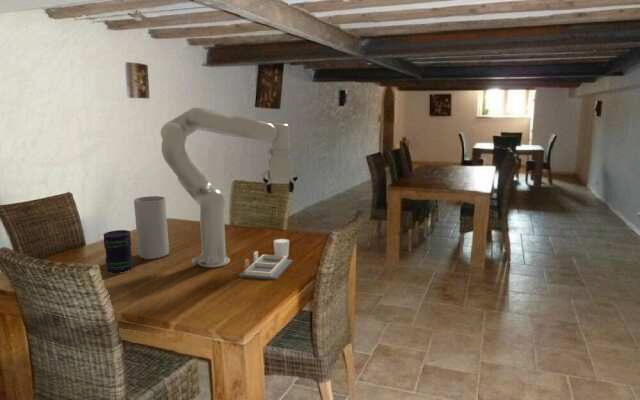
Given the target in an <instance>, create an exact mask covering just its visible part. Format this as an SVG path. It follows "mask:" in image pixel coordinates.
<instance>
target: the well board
mask: <svg viewBox="0 0 640 400" xmlns="http://www.w3.org/2000/svg"><path fill="white" fill-rule="evenodd" d="M243 262H244V265H243V266H244V269H243V270H242V271H241V272H240V273H238V277H242V278H249V279H250V278H251V279H263V280H264V279H265V280H275V281H276V280H278V279H279V278H280V276H281V275H282V274H283V273H284V272H285V271H286V269H288V268H289V267H290V265H291V264H292V263H293V259H289V258H288V257H287V256H278V255H275V254H261V255H260V256H259V251H258V250H257V251H256V250H255V251H254V252H253V261H252V262H251V263H250V258H246V259H245V260H243Z"/></svg>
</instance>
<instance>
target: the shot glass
mask: <svg viewBox="0 0 640 400" xmlns="http://www.w3.org/2000/svg"><path fill="white" fill-rule="evenodd" d="M273 250H274V251H273V252H274V255H278V256H287V258H289V250H290V240H289V239H287V238H277V239H274V240H273Z"/></svg>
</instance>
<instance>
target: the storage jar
mask: <svg viewBox="0 0 640 400" xmlns="http://www.w3.org/2000/svg"><path fill="white" fill-rule="evenodd" d="M102 237H103V245H104V246H103V247H104V250H105V256H106V257H105V265H106V272H107V271H108V272H111V273H120V272H125V271H128V270H131V269H132V268H133V269H134V266H133V265H134V258H133V254H132V247H131V246H132V238H131V230H130V231H129V230H126V229H119V230H118V229H117V230H111V231H107V232H105V233H103V236H102ZM133 269H132V270H133ZM132 270H131V271H132ZM108 272H107V273H108ZM111 273H110V274H111ZM120 274H121V273H120Z"/></svg>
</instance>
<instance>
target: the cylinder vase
mask: <svg viewBox="0 0 640 400" xmlns="http://www.w3.org/2000/svg"><path fill="white" fill-rule="evenodd" d="M133 204H134V205H133V207H134V216H135V218H134V219H135V227H136V230H135V231H136V238H137V239H136V240H137V241H136V242H137V250H138V256H139V258H140V257H141V259H143V258H144V259H143V260H157V259H156V258H158V259H162V258H165V257H166V255H167V256H168V255H169V253H170V248H169V247H170V246H169V234H168V221H167V220H168V217H167V206H166V197H165V196H159V195H158V196H157V195H149V196H141V197H136V198H135V199H133ZM164 256H165V257H164ZM161 257H162V258H161Z"/></svg>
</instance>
